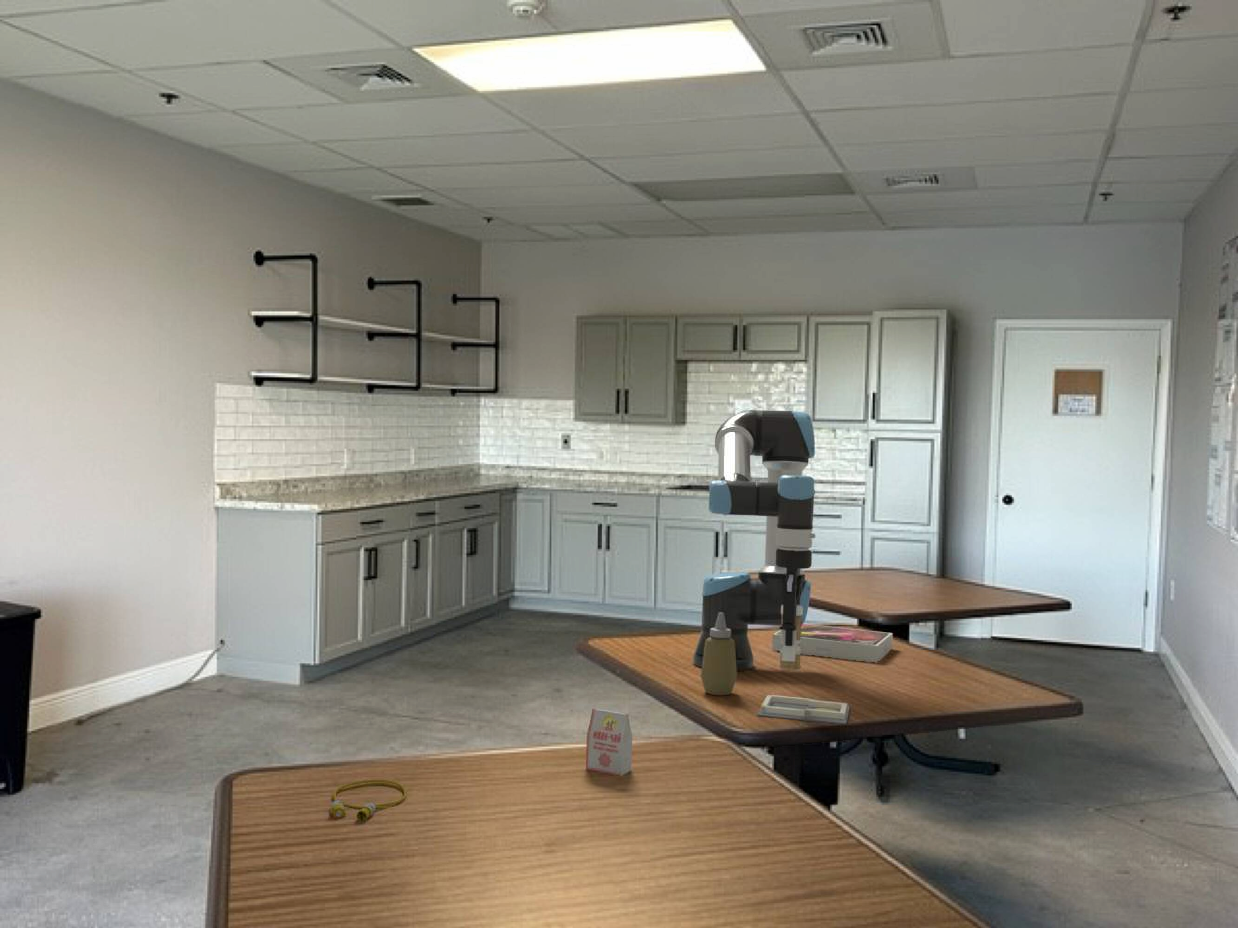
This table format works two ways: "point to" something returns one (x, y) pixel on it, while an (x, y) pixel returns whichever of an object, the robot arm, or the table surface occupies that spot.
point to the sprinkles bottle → (796, 665)
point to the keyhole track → (804, 709)
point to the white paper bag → (609, 743)
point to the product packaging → (841, 643)
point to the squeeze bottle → (719, 660)
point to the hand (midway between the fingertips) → (789, 658)
